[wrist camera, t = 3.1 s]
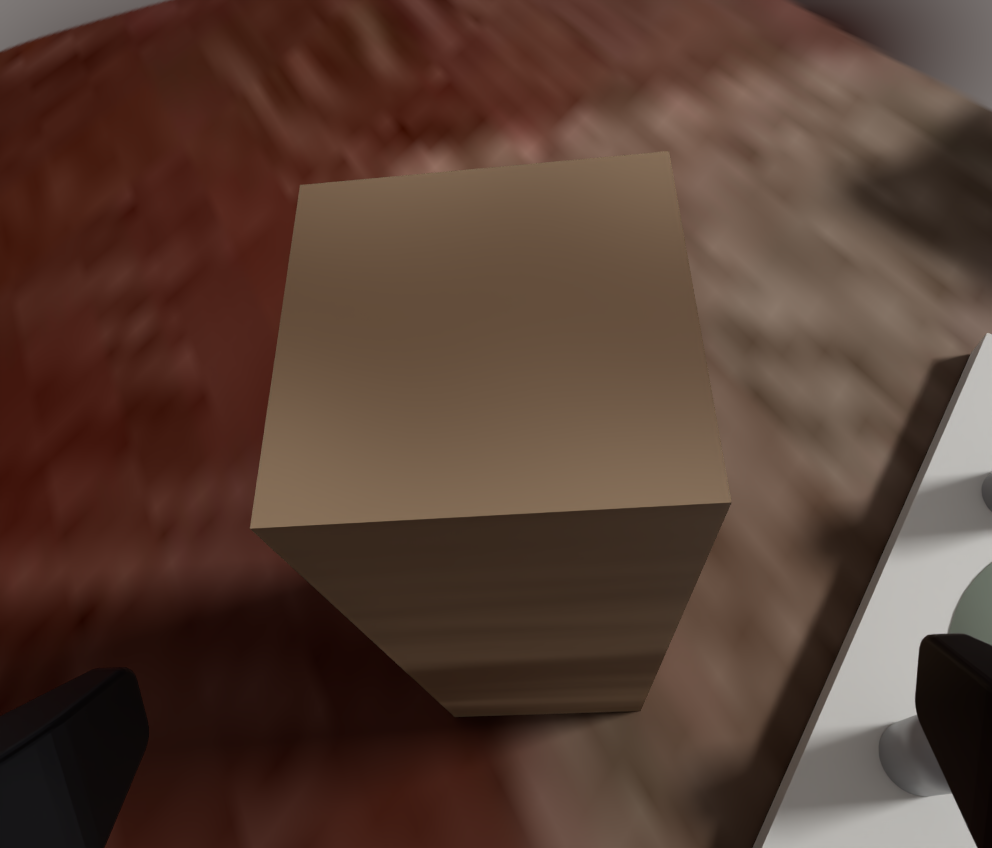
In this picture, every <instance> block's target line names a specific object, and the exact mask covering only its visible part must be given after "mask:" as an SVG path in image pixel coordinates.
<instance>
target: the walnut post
mask: <svg viewBox="0 0 992 848" xmlns="http://www.w3.org/2000/svg"><path fill="white" fill-rule="evenodd" d="M730 505H731V497H730V491H729V486H728V480H727V474H726V469H725V463H724V458H723V452H722V446H721V441H720V435H719V430H718V424H717V418H716V413H715V407H714V402H713V396H712V390H711V385H710V379H709V373H708V368H707V362H706V357H705V351H704V345H703V340H702V334H701V329H700V323H699V317H698V312H697V306H696V300H695V295H694V289H693V284H692V278H691V272H690V267H689V261H688V256H687V250H686V244H685V239H684V233H683V228H682V222H681V216H680V211H679V205H678V199H677V194H676V188H675V183H674V177H673V171H672V166H671V160H670V155H669V151H666V152H655V153H644V154H633V155H622V156H612V157H601V158H590V159H579V160H568V161H557V162H546V163H536V164H525V165H514V166H503V167H492V168H481V169H470V170H460V171H449V172H438V173H427V174H416V175H405V176H395V177H384V178H373V179H362V180H351V181H340V182H329V183H319V184H308V185H300V190H299V197H298V204H297V210H296V217H295V224H294V231H293V238H292V245H291V252H290V258H289V265H288V272H287V279H286V286H285V293H284V299H283V306H282V313H281V320H280V327H279V334H278V341H277V347H276V354H275V361H274V368H273V375H272V382H271V389H270V395H269V402H268V409H267V416H266V423H265V430H264V437H263V443H262V450H261V457H260V464H259V471H258V478H257V485H256V491H255V498H254V505H253V512H252V519H251V526H250V529H251V530H252V531H253V532H254V533H255V534H256V535H258V536H259V537H260V538H261V539H262V540H263V541H264V542H265V543H266V544H267V545H268V546H270V547H271V548H272V549H273V550H274V551H275V552H276V553H277V554H278V555H279V556H280V557H281V558H283V559H284V560H285V561H286V562H287V563H288V564H289V565H290V566H291V567H292V568H293V569H294V570H296V571H297V572H298V573H299V574H300V575H301V576H302V577H303V578H304V579H305V580H306V581H308V582H309V583H310V584H311V585H312V586H313V587H314V588H315V589H316V590H317V591H318V592H319V593H321V594H322V595H323V596H324V597H325V598H326V599H327V600H328V601H329V602H330V603H331V604H332V605H334V606H335V607H336V608H337V609H338V610H339V611H340V612H341V613H342V614H343V615H344V616H346V617H347V618H348V619H349V620H350V621H351V622H352V623H353V624H354V625H355V626H356V627H357V628H359V629H360V630H361V631H362V632H363V633H364V634H365V635H366V636H367V637H368V638H369V639H370V640H372V641H373V642H374V643H375V644H376V645H377V646H378V647H379V648H380V649H381V650H382V651H384V652H385V653H386V654H387V655H388V656H389V657H390V658H391V659H392V660H393V661H394V662H395V663H397V664H398V665H399V666H400V667H401V668H402V669H403V670H404V671H405V672H406V673H407V674H408V675H410V676H411V677H412V678H413V679H414V680H415V681H416V682H417V683H418V684H419V685H420V686H422V687H423V688H424V689H425V690H426V691H427V692H428V693H429V694H430V695H431V696H432V697H433V698H435V699H436V700H437V701H438V702H439V703H440V704H441V705H442V706H443V707H444V708H445V709H446V710H448V711H449V712H450V713H451V714H452V715H453V716H454V717H471V716H501V715H532V714H562V713H593V712H623V711H641V709H642V706H643V704H644V702H645V699H646V697H647V695H648V693H649V690H650V688H651V686H652V683H653V681H654V679H655V676H656V674H657V672H658V670H659V667H660V665H661V663H662V660H663V658H664V656H665V654H666V651H667V649H668V647H669V644H670V642H671V640H672V638H673V635H674V633H675V631H676V628H677V626H678V624H679V621H680V619H681V617H682V615H683V612H684V610H685V608H686V605H687V603H688V601H689V599H690V596H691V594H692V592H693V589H694V587H695V585H696V583H697V580H698V578H699V576H700V573H701V571H702V569H703V566H704V564H705V562H706V560H707V557H708V555H709V553H710V550H711V548H712V546H713V544H714V541H715V539H716V537H717V534H718V532H719V530H720V527H721V525H722V523H723V521H724V518H725V516H726V514H727V511H728V509H729V507H730Z"/></svg>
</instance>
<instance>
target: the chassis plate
mask: <svg viewBox="0 0 992 848" xmlns="http://www.w3.org/2000/svg"><path fill="white" fill-rule="evenodd" d="M948 633H963V634H967V635H970V636H972V637H974V638H977V639H979V640H981V641H983V642H986V643H988V644H990V645H992V334H989V333H987V334H986V335H985V336H984V337H983V339H982V340H981V341H980V342H979V344H978V345H977V346H976V347H975V349H974V350H973V351H972V352H971V354H970V357H969V359H968V361H967V363H966V366H965V368H964V370H963V372H962V375H961V377H960V379H959V381H958V384H957V386H956V388H955V390H954V393H953V395H952V397H951V400H950V402H949V404H948V406H947V409H946V411H945V413H944V415H943V418H942V420H941V422H940V424H939V427H938V429H937V431H936V433H935V436H934V438H933V440H932V443H931V445H930V447H929V449H928V452H927V454H926V456H925V458H924V461H923V463H922V465H921V467H920V470H919V472H918V474H917V476H916V479H915V481H914V483H913V486H912V488H911V490H910V492H909V495H908V497H907V499H906V501H905V504H904V506H903V508H902V510H901V513H900V515H899V517H898V519H897V522H896V524H895V526H894V529H893V531H892V533H891V535H890V538H889V540H888V542H887V544H886V547H885V549H884V551H883V553H882V556H881V558H880V560H879V562H878V565H877V567H876V569H875V572H874V574H873V576H872V578H871V581H870V583H869V585H868V587H867V590H866V592H865V594H864V596H863V599H862V601H861V603H860V606H859V608H858V610H857V612H856V615H855V617H854V619H853V621H852V624H851V626H850V628H849V630H848V633H847V635H846V637H845V639H844V642H843V644H842V646H841V649H840V651H839V653H838V655H837V658H836V660H835V662H834V664H833V667H832V669H831V671H830V673H829V676H828V678H827V680H826V682H825V685H824V687H823V689H822V692H821V694H820V696H819V698H818V701H817V703H816V705H815V707H814V710H813V712H812V714H811V716H810V719H809V721H808V723H807V725H806V728H805V730H804V732H803V735H802V737H801V739H800V741H799V744H798V746H797V748H796V750H795V753H794V755H793V757H792V759H791V762H790V764H789V766H788V768H787V771H786V773H785V775H784V778H783V780H782V782H781V784H780V787H779V789H778V791H777V793H776V796H775V798H774V800H773V802H772V805H771V807H770V809H769V811H768V814H767V816H766V818H765V821H764V823H763V825H762V827H761V830H760V832H759V834H758V836H757V839H756V841H755V843H754V845H753V848H977V846H976V844H975V842H974V840H973V838H972V836H971V834H970V832H969V830H968V828H967V825H966V823H965V821H964V819H963V817H962V814H961V812H960V810H959V808H958V806H957V804H956V801H955V799H954V797H953V795H952V793H951V790H950V788H949V786H948V784H947V782H946V780H945V777H944V775H943V773H942V771H941V769H940V766H939V764H938V762H937V760H936V758H935V756H934V753H933V751H932V749H931V747H930V745H929V742H928V740H927V738H926V736H925V734H924V732H923V729H922V727H921V725H920V723H919V720H918V717H917V713H916V708H915V690H916V678H917V667H918V655H919V647H920V643H921V641H922V639H923V638H924V637H925V636H927V635H930V634H948Z"/></svg>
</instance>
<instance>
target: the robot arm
mask: <svg viewBox="0 0 992 848" xmlns="http://www.w3.org/2000/svg"><path fill="white" fill-rule="evenodd" d="M915 708H916V713H917V717H918V720H919V723H920V725H921V727H922V729H923V732H924V734H925V736H926V738H927V740H928V742H929V745H930V747H931V749H932V751H933V753H934V756H935V758H936V760H937V762H938V764H939V766H940V769H941V771H942V773H943V775H944V777H945V780H946V782H947V784H948V786H949V788H950V790H951V793H952V795H953V797H954V799H955V801H956V804H957V806H958V808H959V810H960V812H961V814H962V817H963V819H964V821H965V823H966V825H967V828H968V830H969V832H970V834H971V836H972V838H973V840H974V842H975V844H976V846H977V848H992V645H990V644H988V643H986V642H983V641H981V640H979V639H977V638H974V637H972V636H970V635H967V634H963V633H948V634H930V635H927V636H925V637H924V638H923V639H922V641H921V643H920V647H919V655H918V667H917V678H916V690H915ZM148 737H149V726H148V721H147V717H146V713H145V709H144V705H143V701H142V697H141V693H140V689H139V686H138V682H137V679H136V676H135V674H134V673H133V671H132V670H130V669H128V668H126V667H116V668H97V669H93V670H91V671H89V672H87V673H85V674H83V675H81V676H79V677H77V678H75V679H73V680H71V681H69V682H67V683H65V684H63V685H61V686H59V687H57V688H55V689H53V690H51V691H49V692H47V693H45V694H43V695H41V696H39V697H37V698H35V699H33V700H31V701H29V702H27V703H25V704H23V705H22V706H20V707H18V708H16V709H14V710H12V711H10V712H8V713H6V714H4V715H2V716H0V848H104V847H105V845H106V843H107V840H108V838H109V836H110V833H111V831H112V828H113V826H114V824H115V821H116V819H117V816H118V814H119V812H120V809H121V807H122V804H123V802H124V800H125V797H126V795H127V793H128V790H129V788H130V785H131V783H132V781H133V778H134V776H135V773H136V771H137V769H138V766H139V764H140V761H141V759H142V757H143V754H144V752H145V749H146V746H147V743H148Z"/></svg>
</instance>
